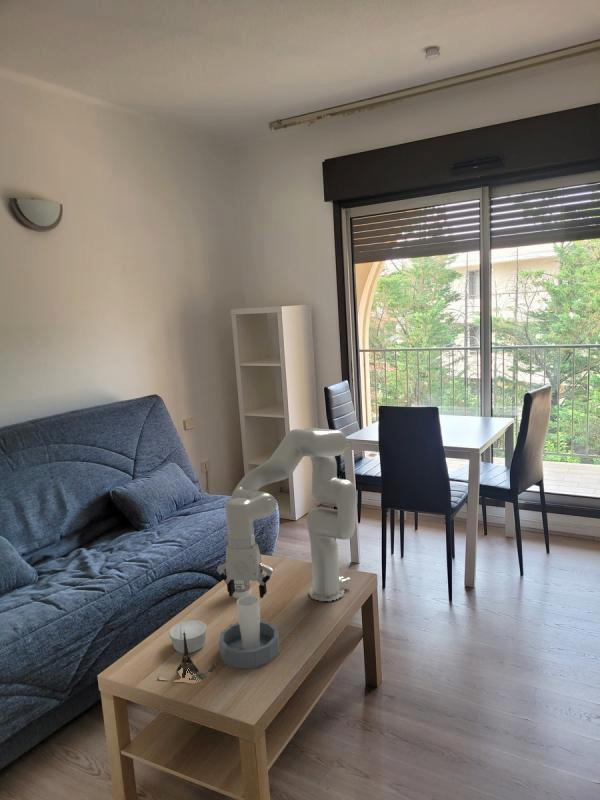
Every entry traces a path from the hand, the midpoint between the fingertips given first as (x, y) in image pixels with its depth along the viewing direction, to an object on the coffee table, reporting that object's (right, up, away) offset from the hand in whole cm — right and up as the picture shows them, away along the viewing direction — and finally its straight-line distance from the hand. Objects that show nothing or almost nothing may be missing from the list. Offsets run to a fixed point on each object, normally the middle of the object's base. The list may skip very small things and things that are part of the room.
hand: (247, 594), depth 172 cm
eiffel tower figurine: (-17, -21, -6) cm, 27 cm away
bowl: (+1, -17, +2) cm, 18 cm away
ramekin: (-19, -18, +7) cm, 27 cm away
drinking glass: (+1, -17, +2) cm, 17 cm away
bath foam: (-5, -13, +38) cm, 40 cm away
